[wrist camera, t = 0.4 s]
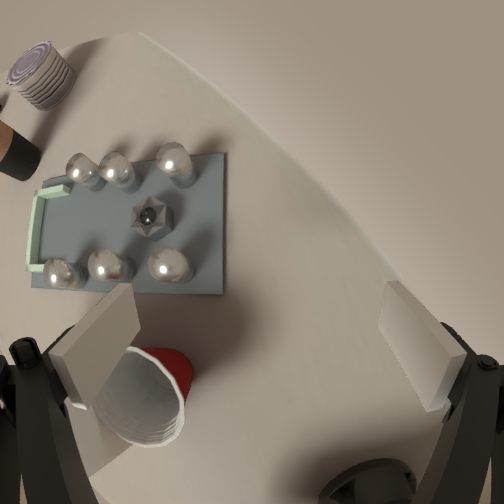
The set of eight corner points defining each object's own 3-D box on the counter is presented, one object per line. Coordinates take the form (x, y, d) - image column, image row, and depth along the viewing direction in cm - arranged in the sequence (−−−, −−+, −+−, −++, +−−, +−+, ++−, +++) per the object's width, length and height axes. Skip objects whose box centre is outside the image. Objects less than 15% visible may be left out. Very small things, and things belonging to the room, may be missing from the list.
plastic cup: (120, 373, 34) (67, 396, 22) (160, 312, 35) (111, 318, 23) (183, 424, 32) (149, 468, 20) (229, 366, 33) (208, 399, 21)
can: (56, 71, 44) (30, 42, 33) (85, 69, 43) (58, 35, 31) (30, 111, 43) (-1, 85, 31) (56, 112, 42) (22, 82, 30)
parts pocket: (61, 272, 36) (53, 271, 34) (33, 272, 36) (25, 270, 34) (70, 188, 38) (63, 184, 36) (42, 194, 38) (35, 190, 36)
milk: (87, 421, 33) (-34, 485, 7) (69, 351, 35) (-76, 376, 9) (153, 427, 32) (36, 535, 7) (135, 349, 34) (-32, 399, 9)
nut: (172, 241, 35) (164, 236, 32) (140, 242, 35) (129, 238, 32) (174, 201, 36) (166, 193, 33) (143, 204, 36) (133, 196, 33)
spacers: (196, 292, 34) (180, 291, 28) (69, 288, 35) (42, 286, 29) (199, 156, 36) (187, 133, 31) (81, 173, 38) (58, 158, 32)
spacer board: (223, 294, 34) (222, 294, 34) (34, 287, 37) (31, 287, 36) (224, 155, 37) (223, 152, 36) (46, 182, 39) (43, 181, 39)
